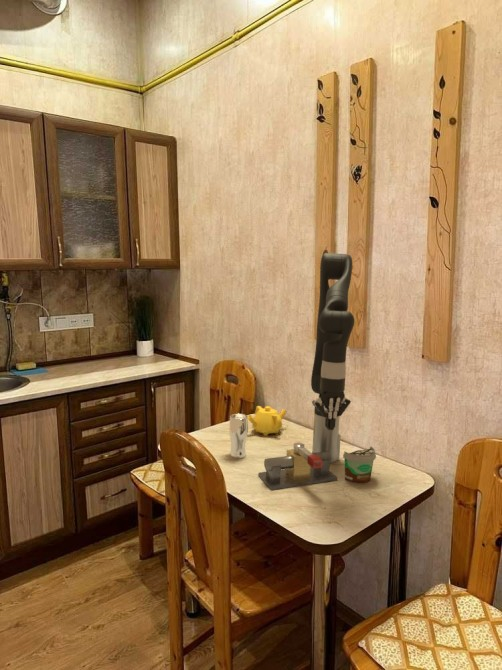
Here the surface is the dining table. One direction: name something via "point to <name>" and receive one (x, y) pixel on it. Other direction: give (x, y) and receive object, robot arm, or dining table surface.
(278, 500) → the dining table surface
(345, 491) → the dining table surface
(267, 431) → the teapot
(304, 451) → the valve lever
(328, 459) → the valve pipe
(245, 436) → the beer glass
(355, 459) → the food container
